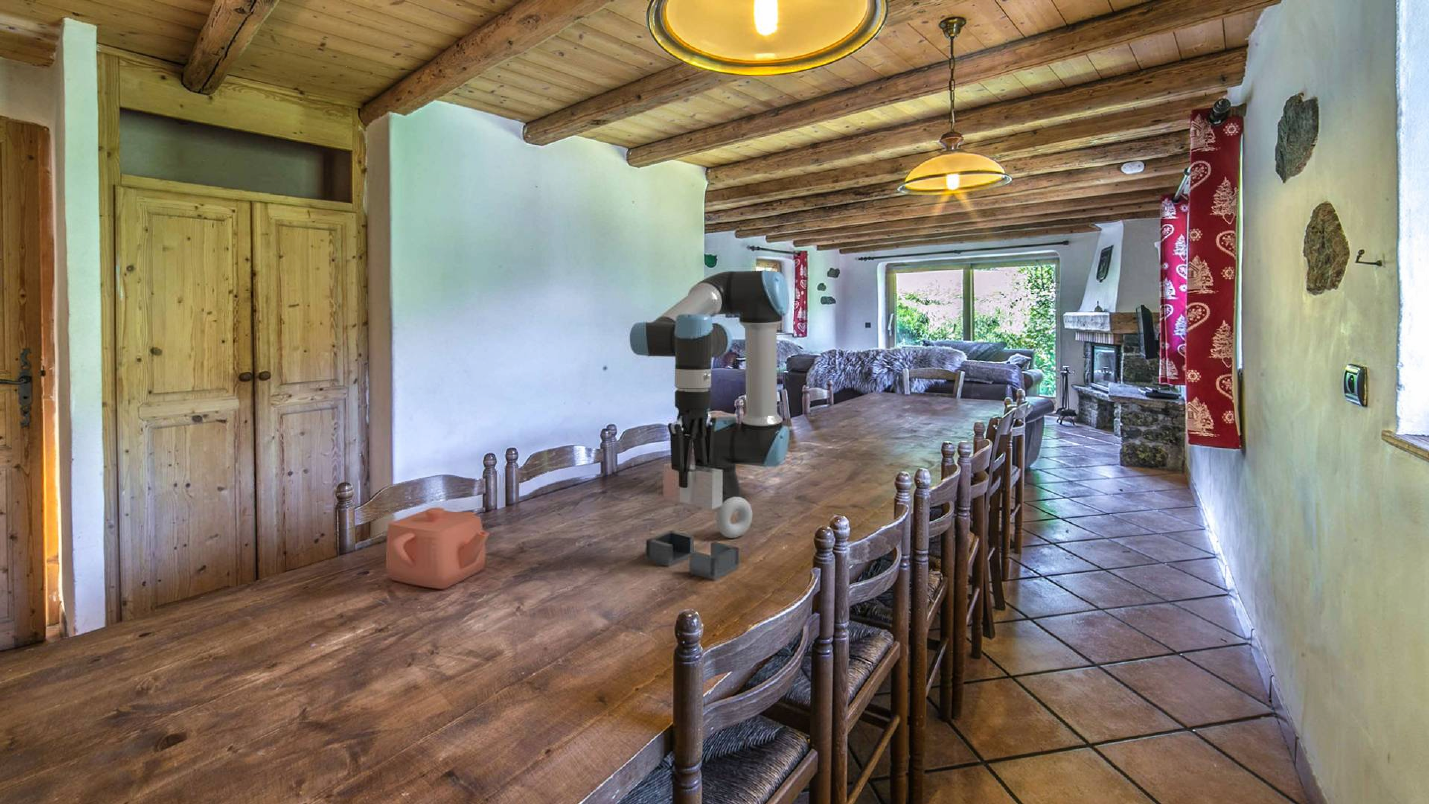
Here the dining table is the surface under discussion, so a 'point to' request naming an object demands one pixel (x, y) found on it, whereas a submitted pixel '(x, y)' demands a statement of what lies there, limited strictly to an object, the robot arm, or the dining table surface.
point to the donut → (725, 515)
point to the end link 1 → (669, 548)
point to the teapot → (435, 548)
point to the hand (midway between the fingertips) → (692, 499)
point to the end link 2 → (715, 561)
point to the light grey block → (696, 486)
